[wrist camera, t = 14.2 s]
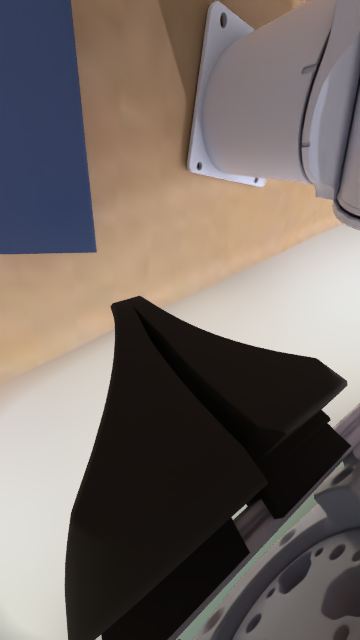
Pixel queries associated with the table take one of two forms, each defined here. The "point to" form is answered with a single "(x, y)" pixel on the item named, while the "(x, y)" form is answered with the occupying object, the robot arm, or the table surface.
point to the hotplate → (42, 133)
